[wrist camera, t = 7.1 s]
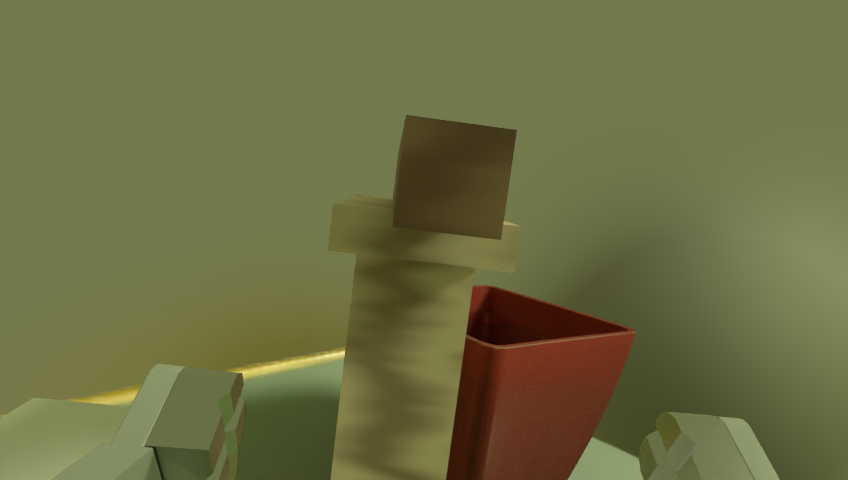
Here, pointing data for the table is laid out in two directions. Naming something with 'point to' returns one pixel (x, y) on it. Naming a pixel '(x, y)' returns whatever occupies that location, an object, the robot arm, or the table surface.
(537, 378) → the plant pot
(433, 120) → the walnut bar
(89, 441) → the white rectangular block
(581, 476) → the table surface
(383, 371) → the wooden i-beam pillar
